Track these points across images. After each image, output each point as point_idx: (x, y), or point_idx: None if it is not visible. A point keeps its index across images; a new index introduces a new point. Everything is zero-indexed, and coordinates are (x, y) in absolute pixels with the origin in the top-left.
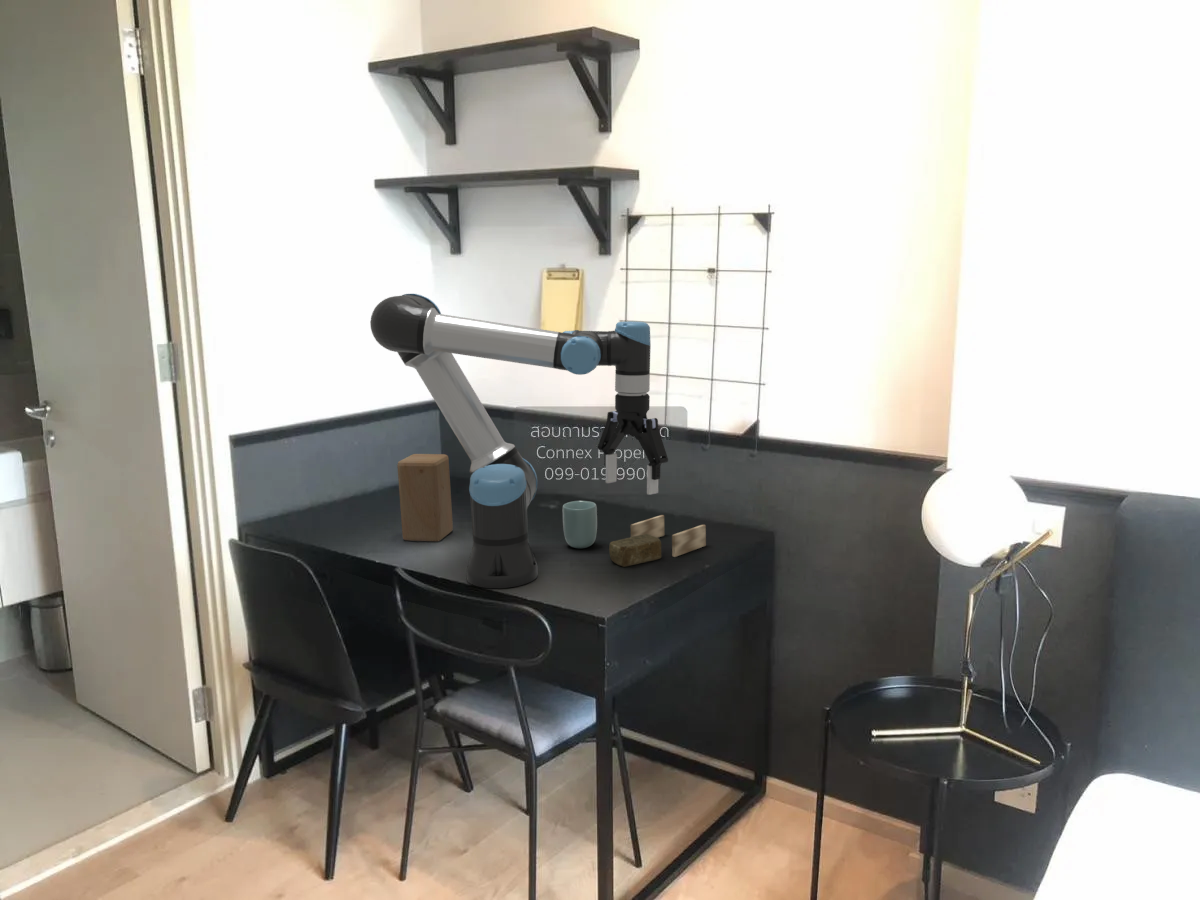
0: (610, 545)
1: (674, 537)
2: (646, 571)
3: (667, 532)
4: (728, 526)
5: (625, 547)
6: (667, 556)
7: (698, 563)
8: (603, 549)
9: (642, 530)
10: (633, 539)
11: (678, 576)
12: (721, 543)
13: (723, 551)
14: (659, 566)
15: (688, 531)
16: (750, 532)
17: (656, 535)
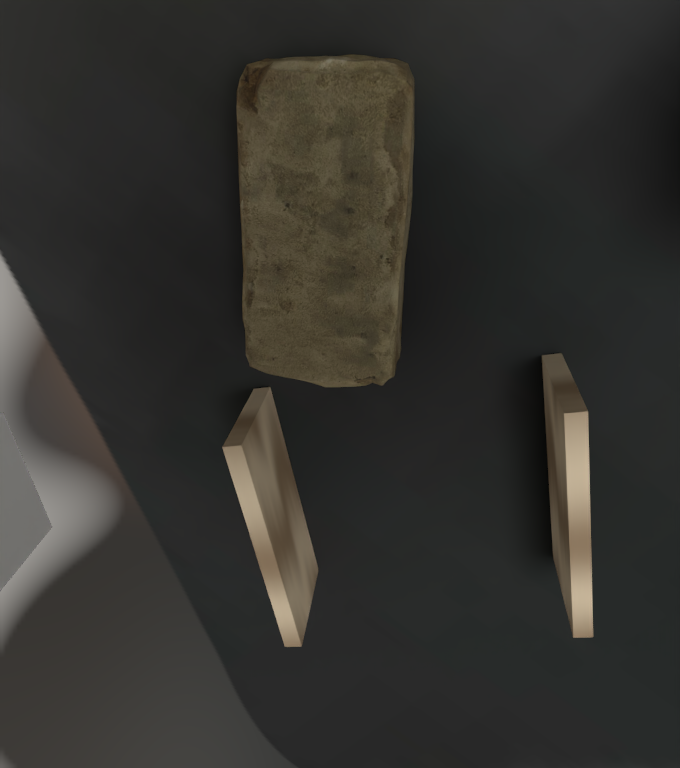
0: (384, 60)
1: (226, 440)
2: (143, 137)
3: None
4: (444, 759)
5: (250, 102)
6: None
7: (121, 404)
8: (632, 185)
9: (558, 459)
10: (336, 241)
11: (2, 219)
12: None
13: (201, 565)
14: (177, 244)
15: (252, 540)
16: (330, 752)
17: (552, 518)
